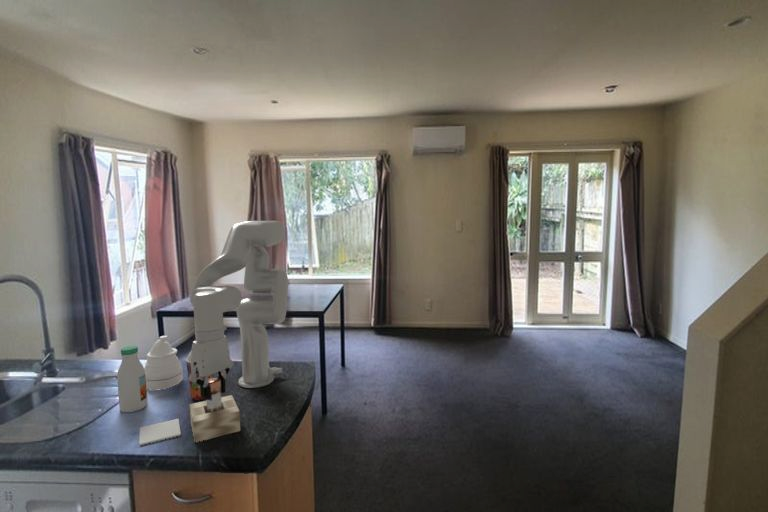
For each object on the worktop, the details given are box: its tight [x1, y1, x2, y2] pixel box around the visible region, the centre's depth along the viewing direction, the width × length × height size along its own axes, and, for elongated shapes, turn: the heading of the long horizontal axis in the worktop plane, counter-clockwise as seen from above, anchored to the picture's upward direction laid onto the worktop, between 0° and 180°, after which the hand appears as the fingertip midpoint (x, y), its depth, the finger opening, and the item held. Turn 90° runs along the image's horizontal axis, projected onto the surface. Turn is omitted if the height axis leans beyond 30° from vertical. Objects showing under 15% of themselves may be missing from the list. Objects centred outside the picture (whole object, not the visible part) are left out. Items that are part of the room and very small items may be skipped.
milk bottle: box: [116, 345, 148, 413], centre depth 130 cm, size 8×8×20 cm
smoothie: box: [185, 351, 214, 401], centre depth 138 cm, size 8×8×20 cm
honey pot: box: [143, 335, 184, 391], centre depth 149 cm, size 13×13×18 cm
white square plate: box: [138, 418, 182, 446], centre depth 116 cm, size 10×10×1 cm
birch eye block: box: [188, 394, 241, 443], centre depth 118 cm, size 12×12×6 cm
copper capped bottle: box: [205, 377, 222, 413], centre depth 118 cm, size 4×4×13 cm
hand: (213, 394), depth 118 cm, fingers closed on copper capped bottle, 4 cm apart
